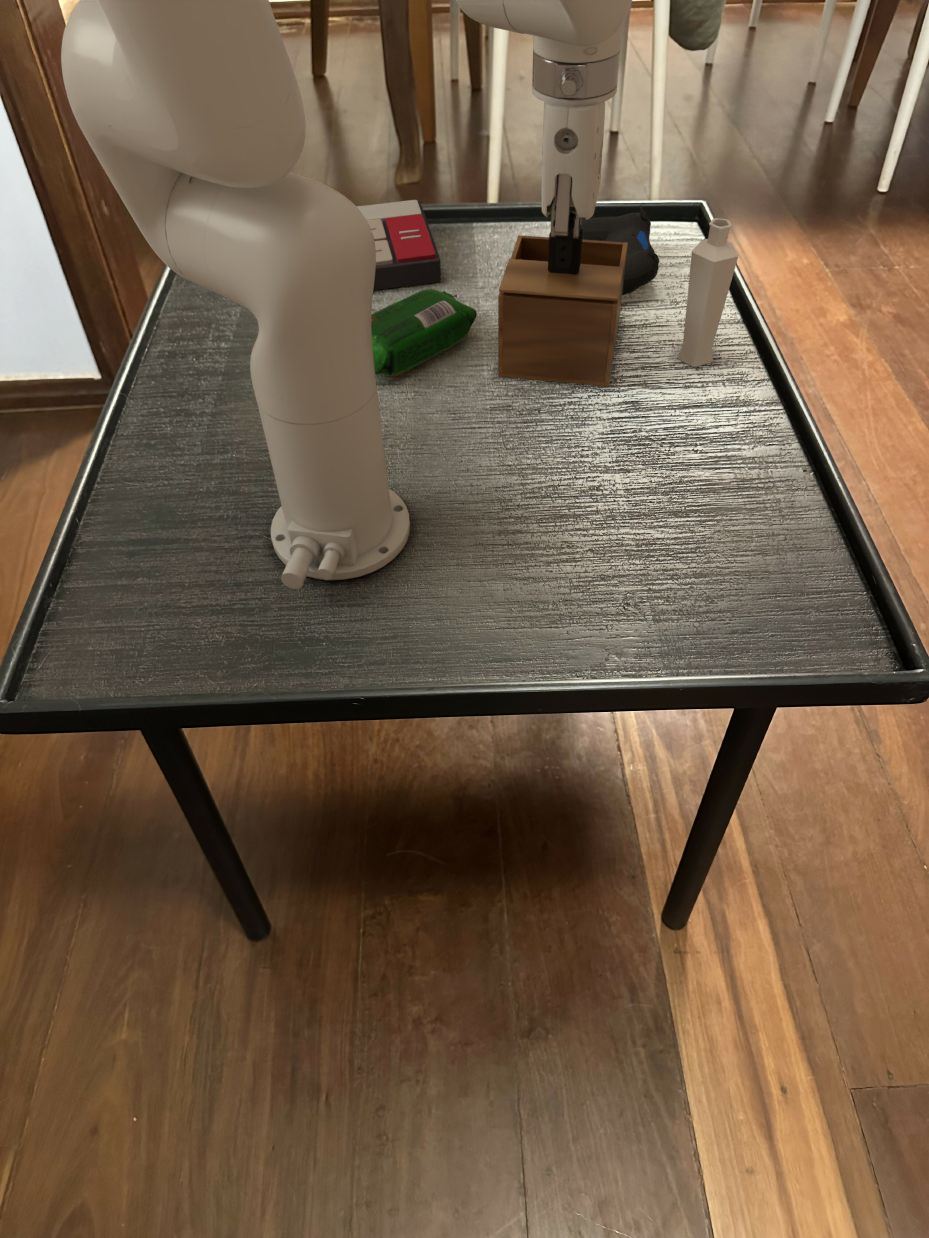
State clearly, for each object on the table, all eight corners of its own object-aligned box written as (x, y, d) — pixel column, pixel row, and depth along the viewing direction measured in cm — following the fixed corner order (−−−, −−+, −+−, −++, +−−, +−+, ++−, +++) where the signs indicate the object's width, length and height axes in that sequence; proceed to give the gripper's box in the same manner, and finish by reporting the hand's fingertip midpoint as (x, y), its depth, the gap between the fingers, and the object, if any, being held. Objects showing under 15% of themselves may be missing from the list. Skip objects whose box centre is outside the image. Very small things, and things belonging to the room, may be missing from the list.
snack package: (489, 337, 105) (488, 295, 101) (380, 392, 98) (376, 349, 94) (448, 314, 108) (446, 272, 104) (341, 365, 102) (335, 323, 98)
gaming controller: (591, 329, 109) (669, 288, 105) (568, 291, 106) (648, 247, 102) (582, 260, 120) (653, 220, 116) (562, 223, 117) (634, 181, 113)
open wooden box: (609, 386, 98) (617, 305, 91) (498, 376, 99) (498, 296, 92) (619, 321, 106) (628, 242, 99) (516, 313, 108) (518, 235, 101)
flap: (617, 301, 90) (618, 298, 90) (498, 292, 92) (498, 289, 92) (622, 269, 94) (623, 266, 94) (509, 261, 96) (509, 258, 96)
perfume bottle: (672, 366, 100) (694, 232, 88) (676, 344, 103) (698, 211, 91) (715, 371, 99) (743, 236, 88) (717, 349, 102) (745, 215, 90)
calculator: (350, 265, 109) (335, 203, 118) (354, 298, 112) (339, 235, 121) (440, 254, 110) (419, 194, 119) (442, 286, 113) (421, 225, 123)
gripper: (610, 107, 75) (593, 311, 89) (625, 44, 84) (607, 237, 98) (519, 103, 76) (516, 305, 90) (544, 42, 86) (538, 233, 99)
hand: (564, 269), depth 94 cm, fingers closed
